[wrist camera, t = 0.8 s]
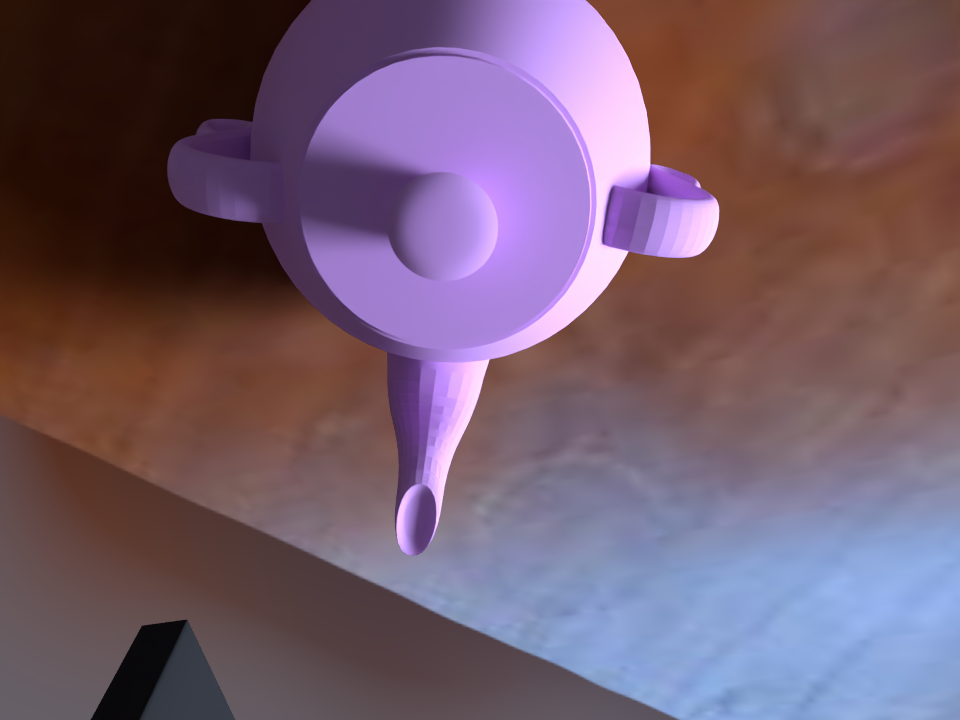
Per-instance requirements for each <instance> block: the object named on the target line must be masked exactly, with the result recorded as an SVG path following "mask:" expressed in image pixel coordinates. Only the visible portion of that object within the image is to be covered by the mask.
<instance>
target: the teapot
mask: <svg viewBox="0 0 960 720" xmlns="http://www.w3.org/2000/svg"><path fill="white" fill-rule="evenodd" d="M167 174H168V181H169V185H170V188H171V191H172V193H173V195H174V197H175V198H176V200H177V201H178V202H179V203H180V204H182V205H183V206H185V207H187V208H188V209H191V210H193V211H196V212H199V213H202V214H206V215H210V216H214V217H219V218H223V219H229V220H236V221H245V222H256V223H262V225H263V228H264V230H265V233H266V236H267V238H268V241H269V243H270V245H271V247H272V248H273V250H274V252H275V254H276V256H277V258H278V260H279V262H280V264H281V266H282V267H283V269H284V270H285V272H286V273H287V275H288V276H289V278H290V279H291V280H292V282H293V283H294V285H295V286H296V287H297V289H298V290H299V291H300V292H301V293H302V294H303V295H304V297H305V298H306V299H307V300H308V301H309V302H310V303H311V304H312V305H313V306H314V307H315V308H316V309H317V310H318V311H319V312H321V313H322V314H323V315H324V316H325V317H326V318H327V319H328V320H330V321H331V322H332V323H334V324H335V325H337V326H338V327H340V328H341V329H342V330H344V331H345V332H347V333H348V334H350V335H352V336H354V337H356V338H358V339H359V340H361V341H363V342H365V343H367V344H369V345H371V346H374V347H376V348H379V349H381V350H384V351H387V361H388V379H387V382H388V397H389V405H390V411H391V416H392V420H393V425H394V429H395V434H396V440H397V447H398V457H399V478H398V489H397V498H396V507H395V529H396V535H397V540H398V543H399V545H400V547H401V549H402V550H403V551H404V552H405V553H406V554H408V555H411V556H414V555H418V554H420V553H422V552H423V551H424V550H425V549H426V547H427V546H428V545H429V543H430V541H431V539H432V538H433V535H434V533H435V530H436V527H437V524H438V520H439V516H440V511H441V505H442V499H443V492H444V486H445V482H446V477H447V473H448V469H449V466H450V463H451V460H452V457H453V455H454V452H455V449H456V447H457V445H458V443H459V441H460V439H461V436H462V435H463V433H464V431H465V429H466V426H467V424H468V422H469V420H470V418H471V416H472V413H473V411H474V408H475V405H476V402H477V399H478V396H479V393H480V389H481V385H482V382H483V378H484V375H485V372H486V369H487V365H488V362H489V359H493V358H497V357H502V356H506V355H509V354H512V353H515V352H518V351H521V350H523V349H526V348H529V347H531V346H533V345H535V344H537V343H539V342H541V341H543V340H545V339H547V338H549V337H550V336H552V335H553V334H555V333H556V332H558V331H559V330H561V329H562V328H564V327H566V326H567V325H568V324H569V323H571V322H572V321H573V320H574V319H575V318H576V317H578V316H579V315H580V314H581V313H582V312H584V311H585V310H586V309H587V308H588V307H589V306H590V305H591V303H592V302H593V301H594V300H595V299H596V298H597V297H598V296H599V295H600V294H601V293H602V292H603V291H604V289H605V288H606V286H607V285H608V284H609V282H610V281H611V280H612V278H613V277H614V275H615V274H616V273H617V271H618V269H619V268H620V266H621V264H622V262H623V260H624V259H625V257H626V255H627V253H628V251H629V252H634V253H639V254H645V255H652V256H660V257H674V258H684V257H692V256H695V255H698V254H700V253H701V252H703V251H704V250H705V249H706V248H707V246H708V245H709V244H710V242H711V241H712V239H713V237H714V235H715V232H716V229H717V225H718V220H719V207H718V203H717V201H716V199H715V198H714V197H713V196H712V195H711V194H710V193H708V192H707V191H705V190H703V189H701V188H700V185H699V183H698V181H697V180H696V179H695V178H694V177H692V176H690V175H688V174H685V173H682V172H680V171H677V170H674V169H671V168H667V167H663V166H659V165H652V164H650V135H649V128H648V120H647V113H646V109H645V105H644V101H643V98H642V94H641V90H640V87H639V83H638V80H637V78H636V75H635V73H634V71H633V68H632V66H631V63H630V61H629V59H628V56H627V55H626V53H625V51H624V49H623V48H622V46H621V44H620V43H619V41H618V39H617V38H616V36H615V34H614V32H613V31H612V30H611V29H610V27H609V26H608V25H607V24H606V22H605V21H604V20H603V19H602V17H601V16H600V15H599V13H598V12H597V11H596V10H595V9H594V8H593V7H592V6H591V5H590V4H589V3H588V2H587V1H586V0H312V1H311V2H310V3H309V4H308V5H307V6H306V7H305V9H304V10H303V11H302V12H301V13H300V14H299V16H298V17H297V18H296V19H295V20H294V21H293V23H292V24H291V26H290V27H289V29H288V30H287V32H286V33H285V35H284V36H283V38H282V40H281V41H280V43H279V44H278V46H277V47H276V49H275V51H274V53H273V56H272V58H271V60H270V62H269V64H268V67H267V69H266V71H265V73H264V76H263V79H262V82H261V86H260V89H259V92H258V96H257V99H256V104H255V110H254V117H253V122H249V121H244V120H235V119H210V120H206V121H205V122H203V123H202V124H201V126H200V127H199V128H198V130H197V133H196V135H193V136H189V137H186V138H183V139H181V140H179V141H178V142H177V143H176V144H175V145H174V146H173V147H172V149H171V152H170V155H169V158H168V164H167Z"/></svg>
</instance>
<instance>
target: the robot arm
mask: <svg viewBox="0 0 960 720" xmlns="http://www.w3.org/2000/svg"><path fill="white" fill-rule="evenodd" d="M91 720H235V718H234V716H233V714H232V712H231V710H230V708H229V706H228V704H227V702H226V699H225V698H224V695H223V693H222V691H221V689H220V687H219V685H218V683H217V681H216V679H215V677H214V674H213V672H212V670H211V668H210V666H209V664H208V662H207V660H206V658H205V656H204V654H203V652H202V649H201V647H200V645H199V643H198V641H197V639H196V637H195V635H194V633H193V631H192V629H191V627H190V624H189V622H188V620H180V621H173V622H166V623H159V624H151V625H144V626H142V627H141V629H140V630H139V632H138V634H137V636H136V638H135V640H134V641H133V643H132V645H131V647H130V649H129V651H128V652H127V654H126V656H125V658H124V660H123V662H122V663H121V665H120V667H119V669H118V671H117V673H116V674H115V676H114V678H113V680H112V682H111V684H110V686H109V687H108V689H107V691H106V693H105V695H104V696H103V698H102V700H101V702H100V704H99V706H98V708H97V709H96V711H95V713H94V715H93V717H92V719H91Z"/></svg>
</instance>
